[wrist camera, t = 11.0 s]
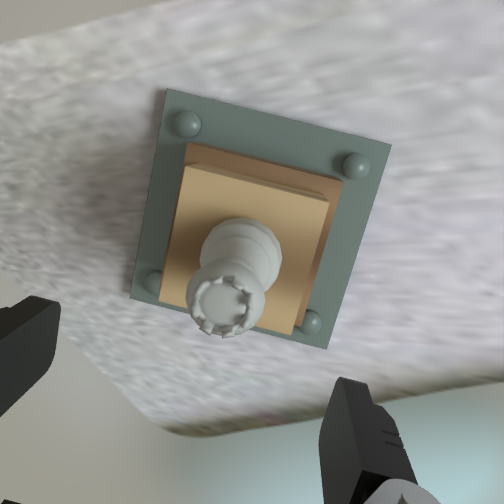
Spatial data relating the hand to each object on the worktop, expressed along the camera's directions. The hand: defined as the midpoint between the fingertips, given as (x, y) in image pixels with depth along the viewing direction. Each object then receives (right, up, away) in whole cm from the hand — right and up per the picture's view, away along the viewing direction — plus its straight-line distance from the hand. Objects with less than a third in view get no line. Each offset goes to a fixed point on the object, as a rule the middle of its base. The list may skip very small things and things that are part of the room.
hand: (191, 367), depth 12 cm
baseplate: (+2, +5, +21) cm, 22 cm away
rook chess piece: (+1, +3, +12) cm, 13 cm away
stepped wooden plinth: (+2, +5, +21) cm, 22 cm away
